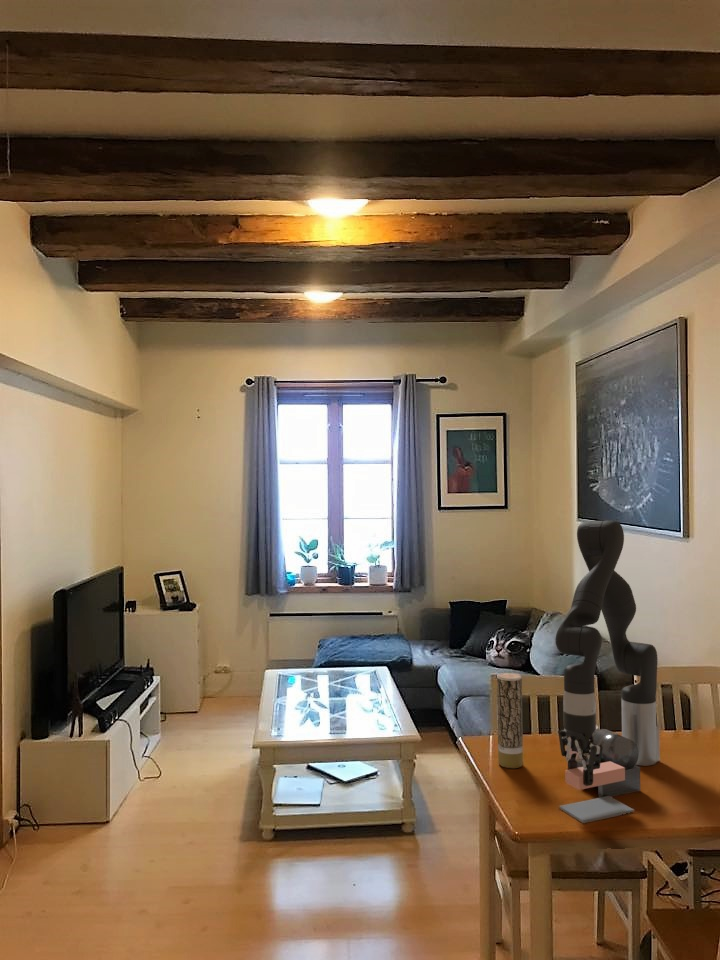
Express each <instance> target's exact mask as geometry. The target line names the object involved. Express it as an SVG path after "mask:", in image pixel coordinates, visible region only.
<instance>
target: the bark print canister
mask: <svg viewBox="0 0 720 960" xmlns="http://www.w3.org/2000/svg"><path fill="white" fill-rule="evenodd" d="M496 676H497V677H496V678H497V679H496V683H497V685H496V687H497V691H496V692H497V693H496V694H497V698H496V699H497V751H498V755H497V756H498V757H497V759H498V764H499V765H500V766H501V767H503V768H504V769H505V768H506V769H518V768H521V767H523V765H524V758H523V757H524V747H523V746H524V743H523V739H524V737H523V735H524V734H523V733H524V732H523V731H524V730H523V680H522V679H523V677H522V675H521V674H519V673H515V672H503V673H498V674H497V675H496Z"/></svg>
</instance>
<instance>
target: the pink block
mask: <svg viewBox="0 0 720 960" xmlns="http://www.w3.org/2000/svg"><path fill="white" fill-rule="evenodd" d="M583 769H584V768H583V767H579V768H574V769H569V770H568V769H565V772H564V780H565V782H564V783H565V784H567V785H569V786H571V787H573V788H575V789H577V790H579V791H580V790H585V789H591V788H595V787H598V786H600V785H605V784H609V783H614V782H619V781H623V780H625V768H624V767H622V766H620V765H618V764H615V763H613V762H611V761H609V762H604V763H600V768H599V769H594V770H593V784H592V785H589V786H585V785H584V784H583Z"/></svg>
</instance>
